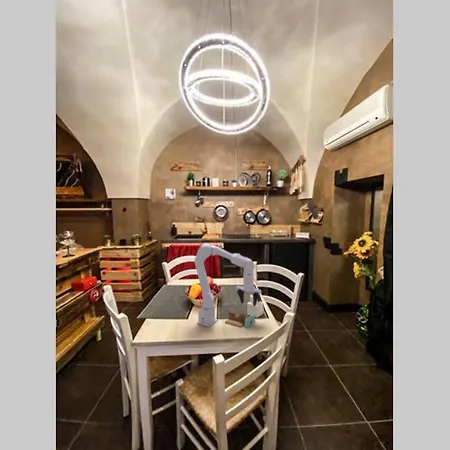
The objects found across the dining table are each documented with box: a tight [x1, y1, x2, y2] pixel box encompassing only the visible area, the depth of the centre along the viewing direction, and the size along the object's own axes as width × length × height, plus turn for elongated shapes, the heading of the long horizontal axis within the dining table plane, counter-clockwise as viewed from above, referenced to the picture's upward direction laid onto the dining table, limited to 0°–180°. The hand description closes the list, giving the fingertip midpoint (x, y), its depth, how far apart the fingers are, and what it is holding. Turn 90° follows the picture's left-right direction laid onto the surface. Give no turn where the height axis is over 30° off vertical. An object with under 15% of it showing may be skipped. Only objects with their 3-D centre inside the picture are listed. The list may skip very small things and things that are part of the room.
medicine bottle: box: [246, 293, 264, 319], centre depth 153 cm, size 7×7×12 cm
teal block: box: [244, 313, 256, 329], centre depth 141 cm, size 10×2×4 cm, turn 150°
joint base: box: [224, 310, 248, 328], centre depth 144 cm, size 10×10×5 cm
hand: (248, 304), depth 145 cm, fingers open, 7 cm apart
